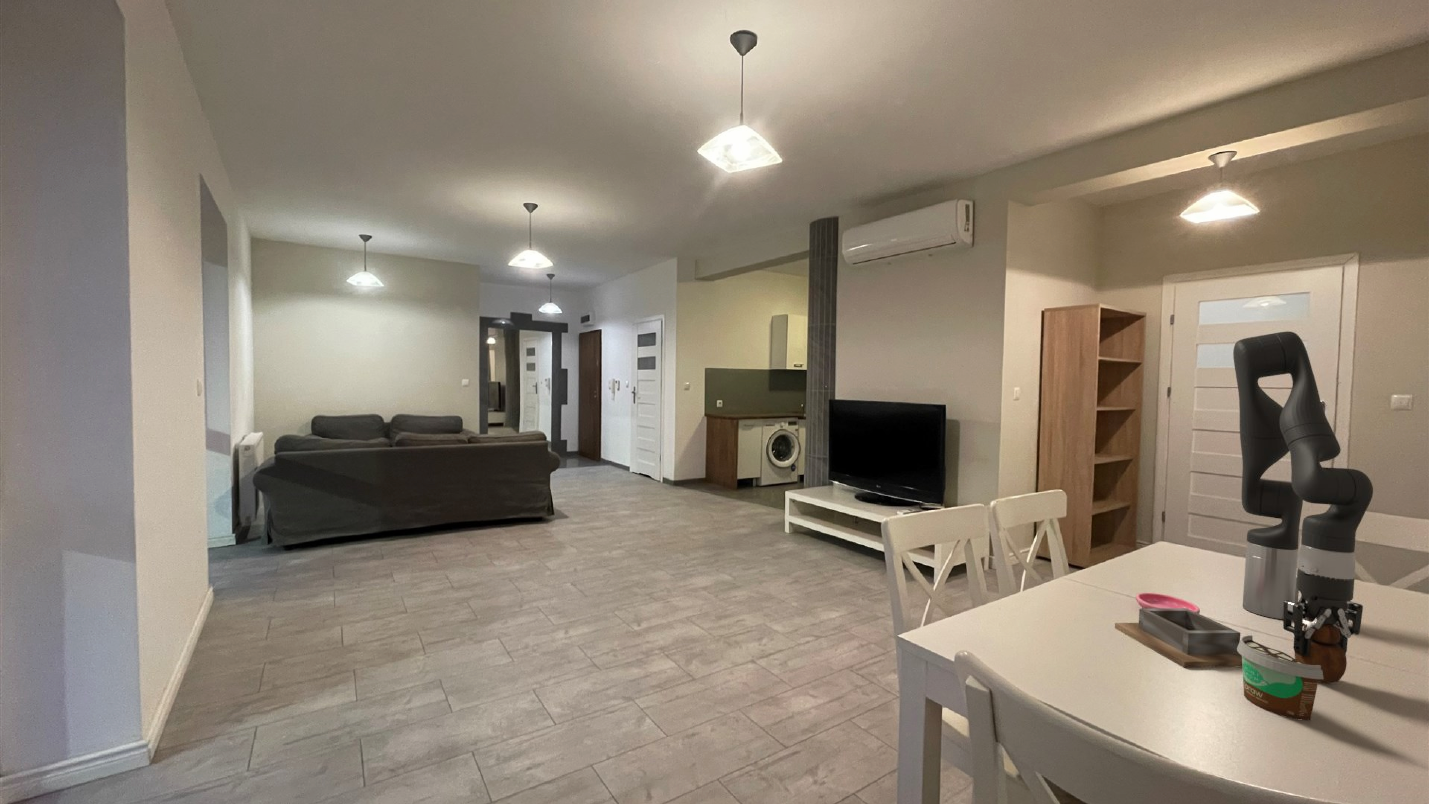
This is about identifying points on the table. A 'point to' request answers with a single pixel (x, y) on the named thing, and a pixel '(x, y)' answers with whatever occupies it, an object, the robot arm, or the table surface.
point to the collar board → (1185, 637)
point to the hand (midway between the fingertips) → (1319, 654)
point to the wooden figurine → (1326, 653)
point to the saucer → (1163, 602)
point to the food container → (1278, 680)
